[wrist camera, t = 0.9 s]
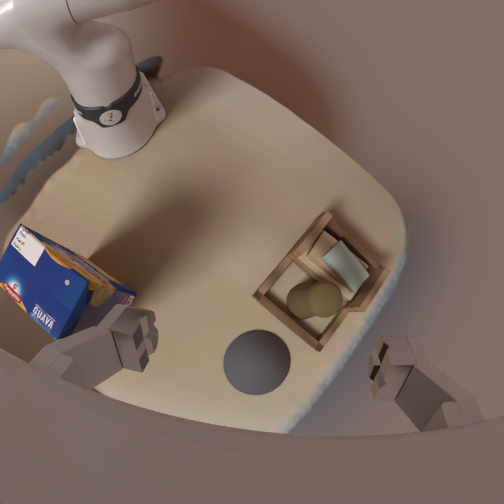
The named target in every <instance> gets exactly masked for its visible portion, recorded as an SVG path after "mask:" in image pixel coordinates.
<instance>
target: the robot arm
mask: <svg viewBox="0 0 504 504" xmlns="http://www.w3.org/2000/svg"><path fill="white" fill-rule="evenodd" d="M156 1H159V0H0V49H15V50H21V51H26V52H29V53H32V54H34V55H36V56H38V57H40V58H42V59H44V60H45V61H47V62H49V63H50V64H51V65H53V66H54V67H55V68H56V69H57V70H58V72H60V74H61V76H62V78H63V79H64V81H65V82H66V84H67V86H68V88H69V90H70V92H71V99H72V101H73V105H74V107H75V110H74V115H75V117H74V118H73V119H74V123H75V125H76V127H77V129H78V130H77V137H76V142H77V144H78V146H80V147H83V148H88V149H90V150H91V151H93V152H94V153H95V154H97V155H98V156H101V157H104V158H120V157H124V156H127V155H130V154H132V153H134V152H135V151H137V150H139V149H140V148H141V147H142V146H144V145H145V144H146V143H147V141H148V140H149V139H150V137H151V136H152V134H153V132H154V130H155V128H156V126H157V125H158V124H159V123H160V122H162V121H163V120H164V119H165V117H166V112H165V110H164V108H163V106H162V104H161V103H160V101H159V99H158V98H157V96H156V94H155V92H154V91H153V89H152V87H151V86H150V84H149V82H148V80H147V79H146V77H145V75H144V74H143V73H142V72H139V70H138V68H137V66H136V65H135V61H134V56H133V50H132V44H131V40H130V38H129V37H128V35H127V34H126V33H125V32H124V31H123V30H121V29H120V28H118V27H116V26H114V25H110V24H105V23H99V22H95V21H92V20H94V19H97V18H101V17H104V16H108V15H112V14H116V13H120V12H125V11H130V10H133V9H136V8H139V7H142V6H145V5H147V4H150V3H153V2H156ZM157 110H159V111H157ZM155 321H156V318H155V313H154V312H153V311H151V310H146V309H142V308H137V307H132V306H127V305H122V304H116V305H115V306H114V307H113V308H112V310H111V311H110V312H109V313H108V314H107V315H106V316H105V318H104V319H103V320H102V321H101V322H100V323H99V325H98V326H97V327H94V326H93V327H90V328H88V329H85V330H83V331H80V332H78V333H75V334H73V335H71V336H68V337H66V338H63V339H61V340H58V341H56V342H53V343H51V344H48V345H46V346H44V347H43V349H42V350H41V351H40V352H39V353H38V354H37V355H36V356H35V357H34V359H33V360H32V361H31V362H30V363H29V364H28V363H26V362H24V361H23V360H20V359H19V358H17V357H15V356H13V355H11V354H9V353H8V352H5V351H4V350H2V349H0V504H504V416H500V417H497V418H493V419H489V420H484V417H483V414H482V412H481V409H480V407H479V404H478V402H477V400H476V397H474V396H473V395H472V394H471V393H469V392H468V391H467V390H465V389H464V388H463V387H462V386H460V385H459V384H458V383H456V382H455V381H454V380H453V379H451V378H450V377H449V376H447V375H446V374H445V373H444V372H442V371H441V370H440V369H438V368H437V367H436V366H434V365H430V363H429V361H428V359H427V356H426V354H425V352H424V349H423V347H422V345H421V342H420V341H419V338H418V337H417V336H416V335H414V336H382V335H380V336H379V337H378V338H377V340H376V342H375V346H376V350H375V351H374V352H373V353H371V356H370V359H369V365H368V373H369V378H370V379H371V380H372V381H373V383H372V386H371V389H372V394H373V400H395V402H396V404H397V405H398V406H399V407H400V408H401V409H402V411H403V412H404V413H405V414H406V415H407V417H408V418H409V419H410V420H411V421H412V423H413V424H414V425H415V426H416V427H417V428H418V430H419V431H420V432H413V433H403V434H392V435H375V436H311V435H293V434H281V433H271V432H261V431H253V430H246V429H239V428H232V427H226V426H220V425H214V424H209V423H204V422H199V421H194V420H189V419H185V418H180V417H176V416H172V415H168V414H164V413H160V412H156V411H152V410H149V409H145V408H142V407H138V406H135V405H132V404H128V403H125V402H122V401H119V400H116V399H113V398H110V397H107V396H104V395H101V394H99V393H96V392H93V391H90V389H92V388H94V387H95V386H97V385H98V384H100V383H102V382H103V381H105V380H106V379H108V378H109V377H111V376H112V375H114V374H116V373H117V372H119V371H120V370H122V369H123V368H126V369H130V370H134V371H138V372H143V371H144V369H145V367H146V365H147V364H148V362H149V358H148V355H150V354H152V353H154V351H155V349H156V347H157V344H158V329H157V328H156V327H155V326H154V325H153V324H154V322H155Z"/></svg>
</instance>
